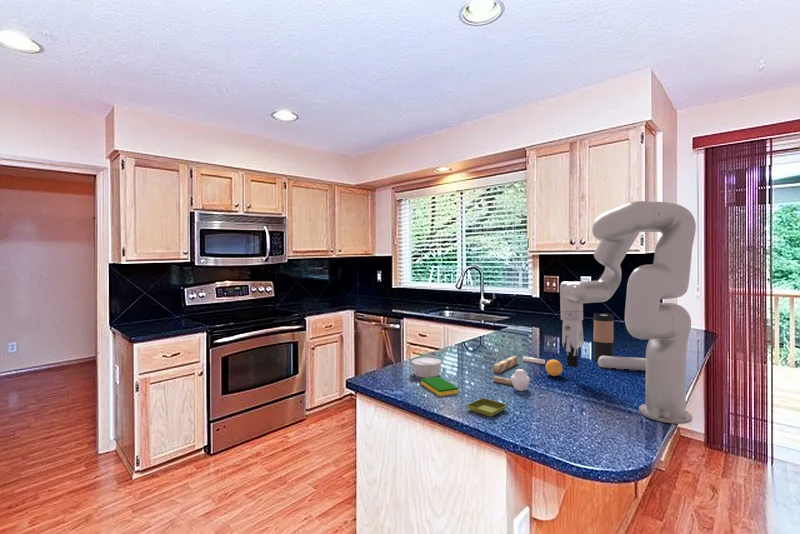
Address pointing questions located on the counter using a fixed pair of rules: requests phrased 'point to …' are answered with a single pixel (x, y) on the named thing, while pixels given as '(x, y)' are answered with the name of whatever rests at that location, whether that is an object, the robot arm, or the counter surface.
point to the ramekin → (426, 367)
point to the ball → (554, 367)
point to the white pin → (533, 360)
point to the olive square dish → (487, 407)
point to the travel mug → (603, 335)
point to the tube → (622, 363)
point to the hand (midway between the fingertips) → (572, 366)
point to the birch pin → (502, 380)
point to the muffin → (520, 380)
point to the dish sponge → (439, 386)
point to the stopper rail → (505, 364)
